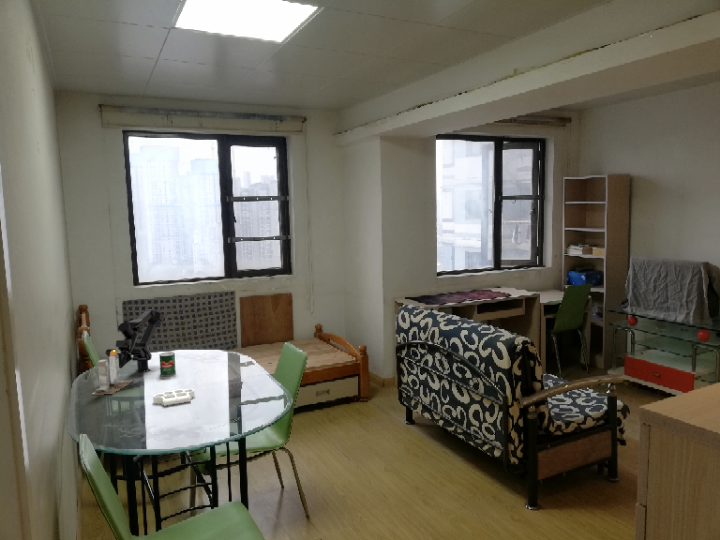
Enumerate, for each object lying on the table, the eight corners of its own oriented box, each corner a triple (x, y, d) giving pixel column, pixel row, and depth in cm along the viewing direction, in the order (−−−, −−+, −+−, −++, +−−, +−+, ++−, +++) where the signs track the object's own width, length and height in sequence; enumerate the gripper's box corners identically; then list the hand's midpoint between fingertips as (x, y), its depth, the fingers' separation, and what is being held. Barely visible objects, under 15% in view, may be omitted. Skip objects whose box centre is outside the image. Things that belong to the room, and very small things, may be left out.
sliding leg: (109, 382, 265) (107, 349, 263) (120, 382, 265) (118, 349, 263) (105, 384, 261) (103, 351, 259) (116, 384, 261) (114, 351, 259)
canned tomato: (163, 376, 279) (162, 356, 278) (158, 373, 285) (156, 353, 284) (178, 373, 284) (177, 353, 283) (172, 370, 290) (171, 351, 289)
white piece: (156, 409, 229) (151, 400, 242) (198, 402, 238) (192, 393, 251) (155, 402, 229) (151, 392, 242) (198, 394, 238) (191, 386, 250)
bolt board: (114, 382, 271) (112, 351, 270) (133, 381, 270) (131, 351, 269) (92, 394, 251) (89, 362, 249) (112, 394, 250) (110, 361, 249)
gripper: (105, 333, 272) (95, 360, 262) (140, 333, 271) (131, 359, 261) (114, 345, 280) (104, 371, 270) (148, 344, 279) (140, 370, 269)
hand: (120, 368), depth 267 cm, fingers closed
